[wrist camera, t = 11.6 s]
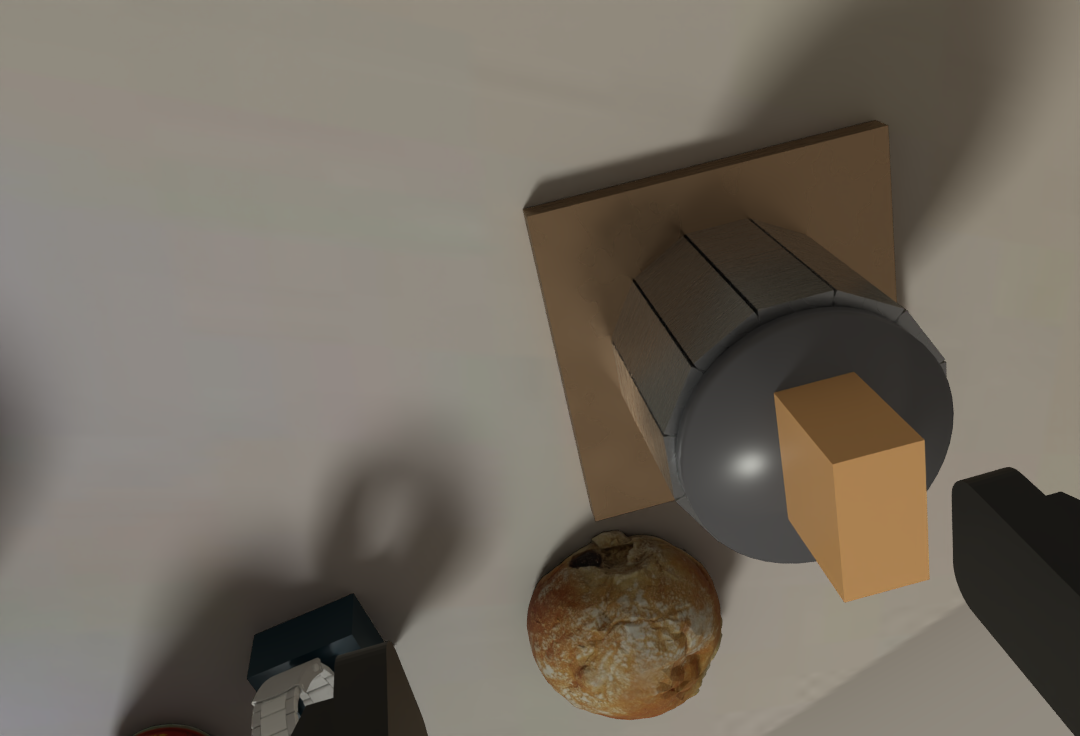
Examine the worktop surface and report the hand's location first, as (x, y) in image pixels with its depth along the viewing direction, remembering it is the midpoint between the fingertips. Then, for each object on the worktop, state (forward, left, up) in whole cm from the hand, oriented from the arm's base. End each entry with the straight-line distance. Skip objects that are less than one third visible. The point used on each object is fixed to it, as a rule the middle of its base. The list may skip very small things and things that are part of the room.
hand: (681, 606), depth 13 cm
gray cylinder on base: (+11, +9, -30) cm, 33 cm away
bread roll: (+26, +2, -31) cm, 40 cm away
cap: (+11, +9, -21) cm, 26 cm away
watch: (+23, -14, -30) cm, 41 cm away
